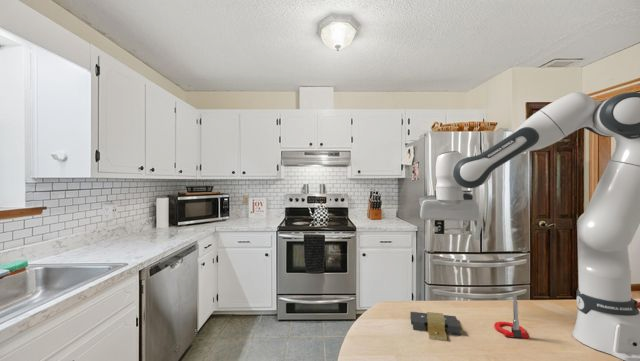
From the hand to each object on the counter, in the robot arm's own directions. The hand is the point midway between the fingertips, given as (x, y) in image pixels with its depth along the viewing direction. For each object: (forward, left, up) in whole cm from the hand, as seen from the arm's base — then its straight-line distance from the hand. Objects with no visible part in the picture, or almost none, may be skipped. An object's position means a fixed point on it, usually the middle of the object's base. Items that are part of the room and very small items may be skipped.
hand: (449, 232), depth 107 cm
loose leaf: (+7, +18, -29) cm, 35 cm away
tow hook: (-16, +11, -30) cm, 35 cm away
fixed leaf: (+7, +12, -29) cm, 32 cm away
